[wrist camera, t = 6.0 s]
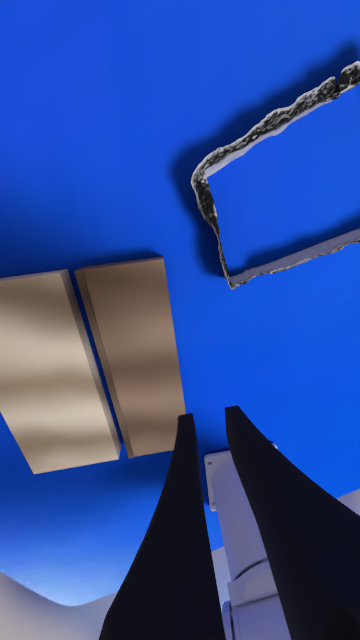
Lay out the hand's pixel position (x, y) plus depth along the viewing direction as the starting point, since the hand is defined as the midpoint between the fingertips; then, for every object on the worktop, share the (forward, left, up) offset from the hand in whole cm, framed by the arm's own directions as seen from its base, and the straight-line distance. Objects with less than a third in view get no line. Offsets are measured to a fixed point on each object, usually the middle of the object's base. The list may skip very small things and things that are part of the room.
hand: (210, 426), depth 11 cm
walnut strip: (-2, +4, -9) cm, 10 cm away
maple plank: (-2, +12, -9) cm, 15 cm away
